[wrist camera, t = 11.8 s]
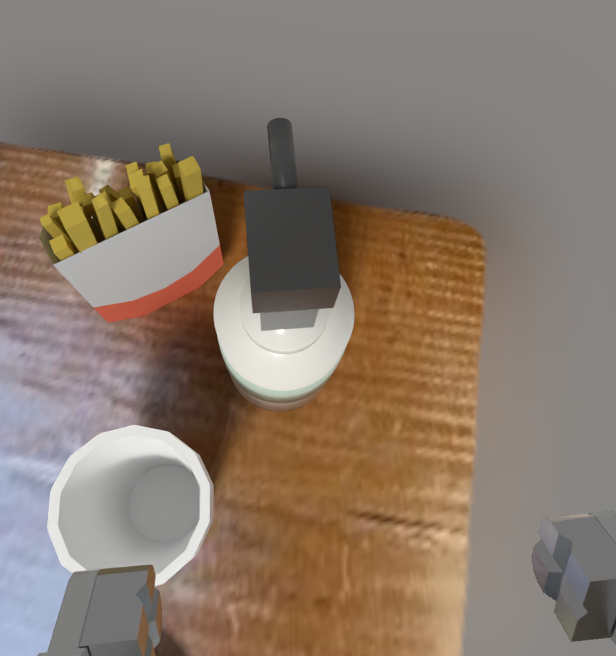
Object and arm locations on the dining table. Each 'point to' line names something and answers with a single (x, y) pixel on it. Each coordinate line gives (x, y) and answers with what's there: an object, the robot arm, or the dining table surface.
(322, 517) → the dining table surface
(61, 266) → the french fries container
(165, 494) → the foam cup
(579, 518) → the robot arm
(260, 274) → the pump head
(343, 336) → the syrup bottle
